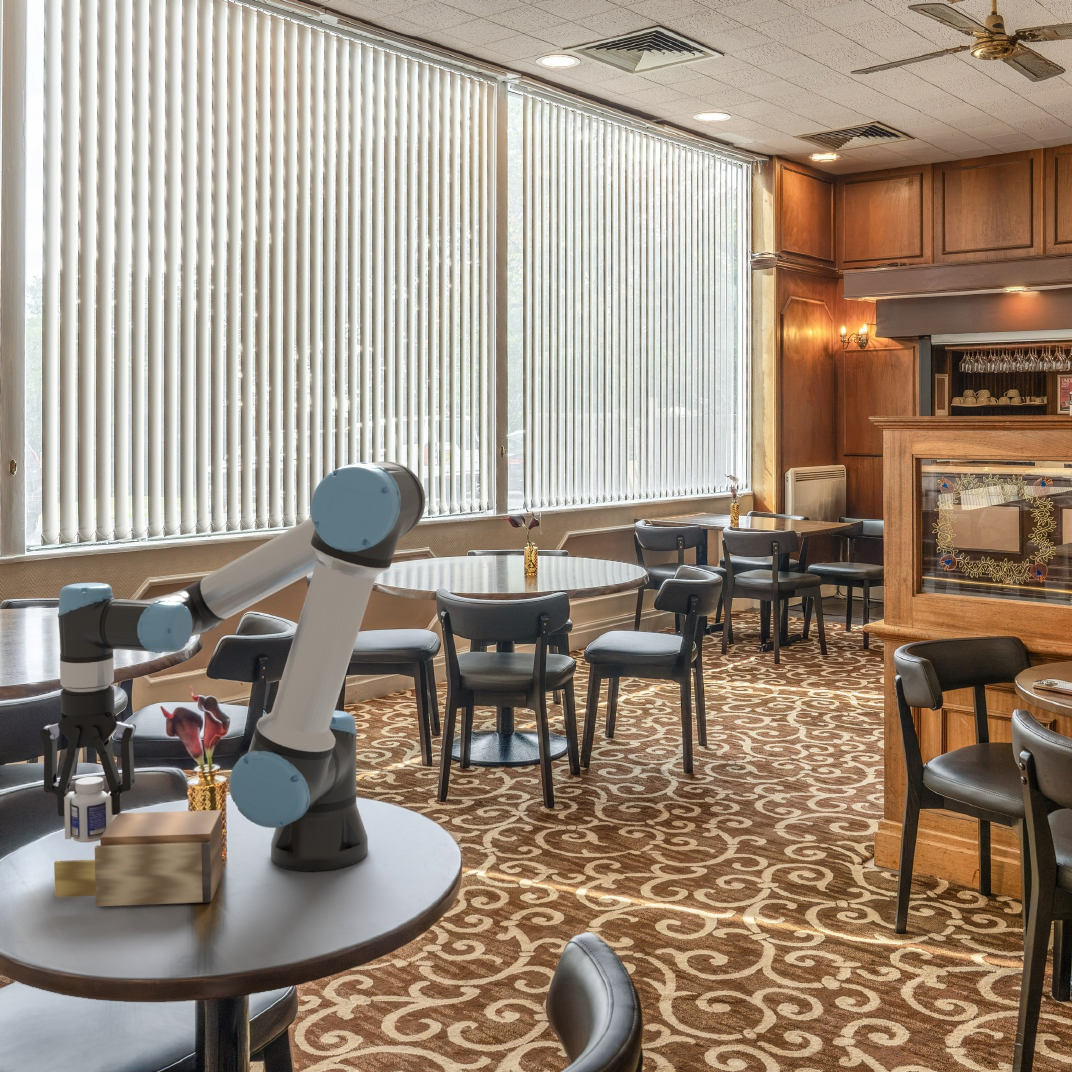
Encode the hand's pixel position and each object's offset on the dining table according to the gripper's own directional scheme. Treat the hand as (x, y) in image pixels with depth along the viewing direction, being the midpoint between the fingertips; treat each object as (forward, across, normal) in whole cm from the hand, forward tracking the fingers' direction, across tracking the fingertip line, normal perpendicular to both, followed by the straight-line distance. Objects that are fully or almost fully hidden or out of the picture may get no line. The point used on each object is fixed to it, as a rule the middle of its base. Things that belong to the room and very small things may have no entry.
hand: (90, 835), depth 171 cm
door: (+5, -10, +15) cm, 18 cm away
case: (+5, -13, +9) cm, 16 cm away
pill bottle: (0, 0, 0) cm, 1 cm away
